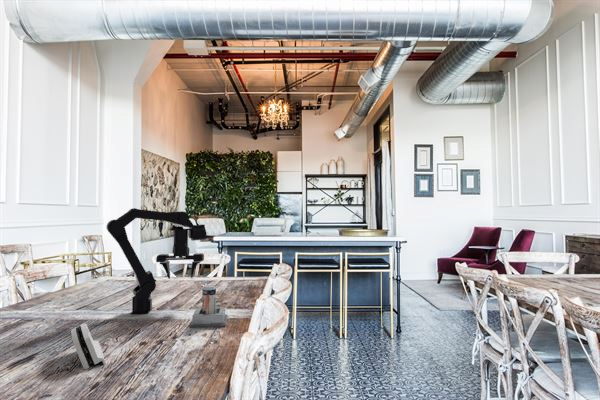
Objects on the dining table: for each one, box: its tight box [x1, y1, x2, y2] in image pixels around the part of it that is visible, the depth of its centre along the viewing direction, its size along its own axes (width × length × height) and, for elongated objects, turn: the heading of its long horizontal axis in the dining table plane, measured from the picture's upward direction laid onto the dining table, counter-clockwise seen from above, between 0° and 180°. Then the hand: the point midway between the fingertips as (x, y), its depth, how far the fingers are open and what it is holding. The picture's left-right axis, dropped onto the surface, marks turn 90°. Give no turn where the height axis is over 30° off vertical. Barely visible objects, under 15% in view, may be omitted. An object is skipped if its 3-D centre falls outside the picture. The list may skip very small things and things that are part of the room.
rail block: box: [189, 306, 228, 329], centre depth 136 cm, size 12×12×4 cm
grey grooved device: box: [70, 323, 107, 370], centre depth 103 cm, size 17×5×10 cm, turn 33°
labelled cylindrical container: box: [201, 284, 217, 314], centre depth 136 cm, size 5×5×12 cm
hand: (180, 278), depth 159 cm, fingers open, 9 cm apart
